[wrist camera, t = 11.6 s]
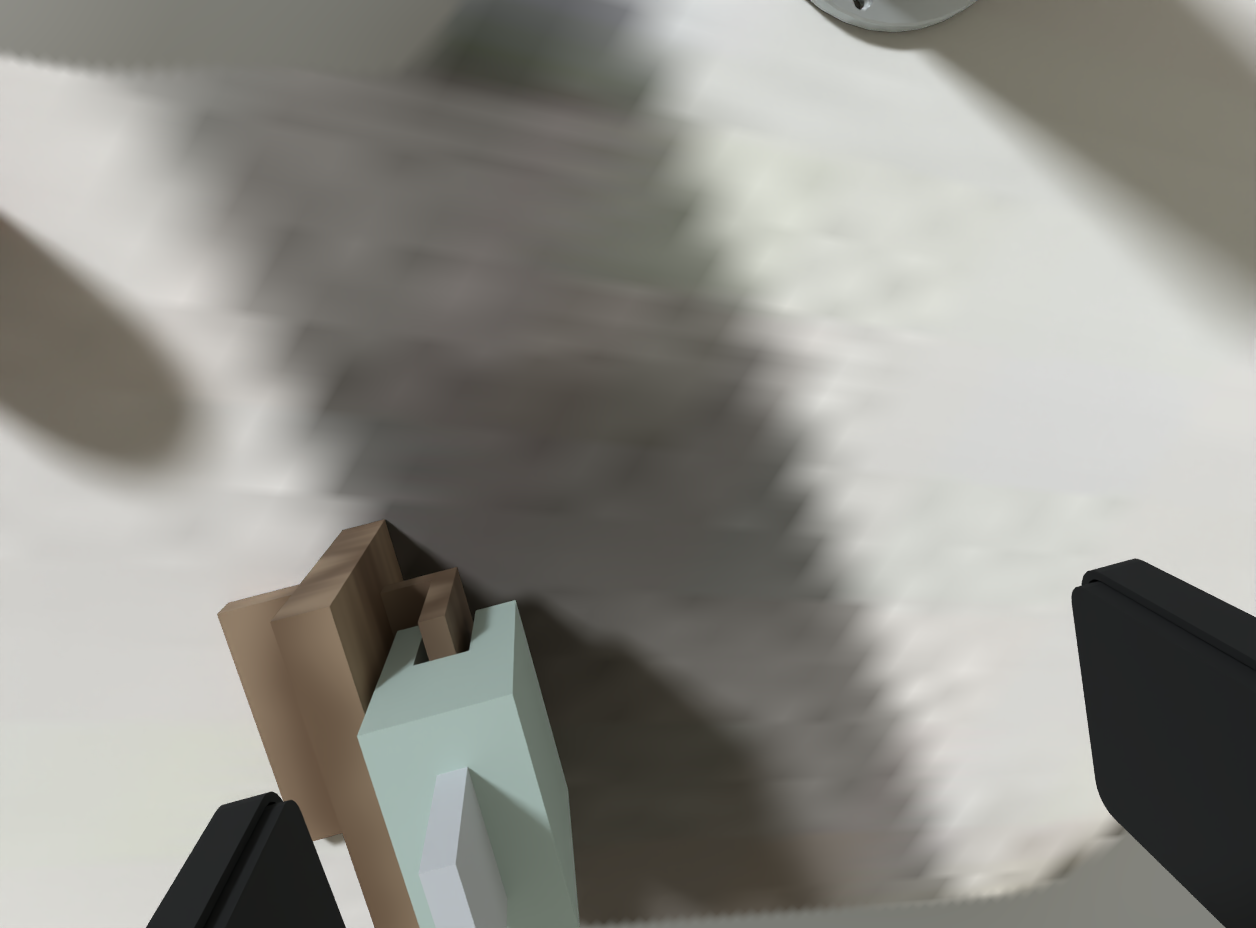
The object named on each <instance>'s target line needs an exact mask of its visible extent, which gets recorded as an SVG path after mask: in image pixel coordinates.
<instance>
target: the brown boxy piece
mask: <svg viewBox="0 0 1256 928" xmlns="http://www.w3.org/2000/svg"><path fill="white" fill-rule="evenodd" d="M217 615H218V618H219V621H220V624H221V627H222V629H223V632H224V635H225V638H226V641H227V643H228V646H229V649H230V652H231V655H232V658H233V660H234V663H235V666H236V669H237V672H238V674H239V677H240V680H241V683H242V686H243V689H244V691H245V694H246V697H247V700H248V703H249V705H250V708H251V711H252V714H253V717H254V720H255V722H256V725H257V728H258V731H259V734H260V736H261V739H262V742H263V745H264V748H265V751H266V753H267V756H268V759H269V762H270V765H271V767H272V770H273V773H274V776H275V779H276V782H277V784H278V787H279V790H280V793H281V796H282V798H283V801H288V800H293V801H295V802H296V803H297V805H298V806H299V808H300V810H301V812H302V815H303V817H304V820H305V823H306V825H307V828H308V831H309V833H310V836H311V838H312V841H316V840H319V839H323V838H326V837H330V836H333V835H337V834H341V833H342V834H343V837H344V840H345V842H346V845H347V848H348V851H349V854H350V857H351V860H352V863H353V866H354V869H355V872H356V875H357V878H358V880H359V883H360V886H361V889H362V892H363V895H364V898H365V901H366V904H367V907H368V910H369V913H370V916H371V918H372V921H373V924H374V927H375V928H420V927H419V924H418V921H417V918H416V915H415V912H414V909H413V906H412V903H411V900H410V897H409V894H408V891H407V888H406V884H405V881H404V878H403V875H402V872H401V869H400V866H399V863H398V860H397V857H396V854H395V851H394V848H393V845H392V842H391V839H390V836H389V833H388V829H387V826H386V823H385V820H384V817H383V814H382V811H381V808H380V805H379V802H378V799H377V796H376V793H375V790H374V787H373V784H372V781H371V778H370V774H369V771H368V768H367V765H366V762H365V759H364V756H363V753H362V750H361V747H360V744H359V741H358V738H357V735H358V732H359V730H360V727H361V724H362V722H363V719H364V717H365V714H366V711H367V709H368V706H369V704H370V701H371V698H372V696H373V693H374V691H375V688H376V685H377V683H378V680H379V678H380V675H381V672H382V670H383V667H384V665H385V662H386V659H387V657H388V654H389V652H390V649H391V646H392V644H393V641H394V639H395V636H396V633H397V631H400V630H404V629H407V628H411V627H415V626H419V629H420V632H421V635H422V639H423V642H424V645H425V648H426V652H427V655H428V658H429V661H432V660H436V659H440V658H444V657H447V656H451V655H455V654H459V653H462V652H466V651H469V649H470V643H471V637H472V630H473V624H474V623H473V620H472V616H471V613H470V609H469V606H468V603H467V599H466V596H465V592H464V589H463V585H462V582H461V579H460V575H459V572H458V568H457V567H455V568H451V569H447V570H443V571H439V572H436V573H432V574H428V575H424V576H420V577H417V578H413V579H409V580H405V581H404V580H403V577H402V574H401V570H400V567H399V564H398V561H397V557H396V554H395V551H394V548H393V544H392V541H391V538H390V534H389V531H388V528H387V525H386V521H385V519H384V520H380V521H377V522H373V523H369V524H365V525H361V526H357V527H353V528H349V529H345V530H342V532H341V533H340V534H339V535H338V537H337V538H336V539H335V540H334V542H333V543H332V544H331V546H330V547H329V548H328V549H327V551H326V552H325V553H324V554H323V556H322V557H321V558H320V559H319V561H318V562H317V563H316V565H315V566H314V567H313V568H312V570H311V571H310V572H309V573H308V575H307V576H306V577H305V578H304V580H303V581H302V582H301V584H300V585H296V586H292V587H288V588H284V589H280V590H276V591H273V592H269V593H265V594H261V595H257V596H253V597H249V598H246V599H242V600H238V601H234V602H230V603H228V604H227V605H226V606H225V607H224V608H223V609H222V610H221V611H220V612H219V613H218V614H217Z"/></svg>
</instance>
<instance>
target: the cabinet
mask: <svg viewBox="0 0 1256 928" xmlns="http://www.w3.org/2000/svg"><path fill="white" fill-rule="evenodd" d="M357 738H358V741H359V744H360V747H361V750H362V753H363V756H364V759H365V762H366V765H367V768H368V771H369V774H370V778H371V781H372V784H373V787H374V790H375V793H376V796H377V799H378V802H379V805H380V808H381V811H382V814H383V817H384V820H385V823H386V826H387V829H388V833H389V836H390V839H391V842H392V845H393V848H394V851H395V854H396V857H397V860H398V863H399V866H400V869H401V872H402V875H403V878H404V881H405V884H406V888H407V891H408V894H409V897H410V900H411V903H412V906H413V909H414V912H415V915H416V918H417V921H418V924H419V927H420V928H580V922H579V911H578V899H577V888H576V876H575V864H574V853H573V841H572V830H571V818H570V806H569V795H568V788H567V784H566V780H565V777H564V773H563V770H562V766H561V762H560V759H559V755H558V751H557V748H556V744H555V741H554V737H553V733H552V730H551V726H550V723H549V719H548V715H547V712H546V708H545V704H544V701H543V697H542V694H541V690H540V686H539V683H538V679H537V676H536V672H535V668H534V665H533V661H532V657H531V654H530V650H529V647H528V643H527V639H526V636H525V632H524V629H523V625H522V621H521V618H520V614H519V610H518V607H517V603H516V600H514V601H510V602H506V603H502V604H499V605H495V606H491V607H487V608H483V609H480V610H476V612H475V618H474V624H473V630H472V637H471V643H470V649H469V651H466V652H462V653H459V654H455V655H451V656H447V657H444V658H440V659H436V660H432V661H429V658H428V655H427V652H426V648H425V645H424V642H423V639H422V635H421V632H420V629H419V626H415V627H411V628H407V629H404V630H400V631H397V633H396V636H395V639H394V641H393V644H392V646H391V649H390V652H389V654H388V657H387V659H386V662H385V665H384V667H383V670H382V672H381V675H380V678H379V680H378V683H377V685H376V688H375V691H374V693H373V696H372V698H371V701H370V704H369V706H368V709H367V711H366V714H365V717H364V719H363V722H362V724H361V727H360V730H359V732H358V735H357Z"/></svg>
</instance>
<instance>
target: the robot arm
mask: <svg viewBox="0 0 1256 928" xmlns="http://www.w3.org/2000/svg"><path fill="white" fill-rule="evenodd" d="M810 1H812V2H813V3H814V4H815V5H816V6H817V7H819V8H820V9H821V10H823V11H825V12H827V13H828V14H830V15H832V16H834V17H836V18H837V19H839V20H841V21H843V22H845V23H848V24H851V25H855V26H858V27H861V28H864V29H867V30H876V31H886V32H900V31H909V30H917V29H922V28H925V27H928V26H931V25H934V24H936V23H939V22H942V21H945V20H947V19H948V18H950V17H952V16H954V15H955V14H957V13H959V12H961V11H962V10H964V9H966V8H967V7H969V6H970V5H971V4H973V3H974V2H975V1H977V0H857V1H858V2H859V3H860V5H861V8H860V10H859V9H858V8H856V7H855V5H854V2H853V0H810ZM1072 608H1073V616H1074V623H1075V631H1076V638H1077V646H1078V653H1079V661H1080V668H1081V676H1082V683H1083V691H1084V698H1085V705H1086V713H1087V720H1088V728H1089V735H1090V743H1091V750H1092V758H1093V765H1094V773H1095V780H1096V785H1097V789H1098V792H1099V795H1100V797H1101V799H1102V801H1103V803H1104V805H1105V807H1106V808H1107V810H1108V811H1109V813H1110V814H1111V815H1112V816H1113V818H1114V819H1115V820H1116V821H1117V822H1118V823H1119V824H1121V825H1122V826H1123V827H1124V828H1125V829H1126V830H1127V831H1128V832H1129V833H1130V834H1131V835H1132V836H1133V837H1134V838H1135V839H1136V840H1137V841H1138V842H1139V843H1140V844H1141V845H1142V846H1143V847H1144V848H1145V849H1146V850H1147V851H1148V852H1149V853H1150V854H1151V855H1152V856H1153V857H1154V858H1155V859H1156V860H1157V861H1158V862H1159V863H1160V864H1161V865H1162V866H1163V867H1164V868H1165V869H1167V871H1169V873H1171V875H1173V876H1174V877H1175V878H1176V879H1177V880H1178V881H1179V882H1180V883H1181V884H1182V885H1183V886H1184V887H1185V888H1186V889H1187V890H1188V891H1189V892H1190V893H1191V894H1192V895H1193V896H1194V897H1195V898H1196V899H1197V900H1198V901H1199V902H1200V903H1201V904H1202V905H1203V906H1204V907H1205V908H1206V909H1207V910H1208V911H1209V912H1210V913H1211V914H1212V915H1213V916H1214V917H1215V918H1216V919H1217V920H1218V921H1219V922H1220V923H1222V925H1224V926H1225V927H1226V928H1256V617H1254V616H1252V615H1250V614H1248V613H1246V612H1244V611H1242V610H1240V609H1238V608H1236V607H1234V606H1232V605H1230V604H1228V603H1226V602H1224V601H1222V600H1220V599H1218V598H1216V597H1214V596H1212V595H1210V594H1208V593H1206V592H1204V591H1202V590H1200V589H1198V588H1196V587H1194V586H1192V585H1190V584H1188V583H1186V582H1184V581H1182V580H1180V579H1178V578H1176V577H1174V576H1172V575H1170V574H1168V573H1166V572H1164V571H1162V570H1160V569H1158V568H1156V567H1154V566H1152V565H1150V564H1148V563H1146V562H1144V561H1142V560H1139V559H1132V560H1128V561H1124V562H1120V563H1117V564H1113V565H1109V566H1105V567H1102V568H1098V569H1094V570H1091V571H1087V572H1086V573H1085V575H1084V576H1083V580H1082V586H1079V587H1075V589H1074V590H1073V592H1072ZM146 928H346V927H345V924H344V922H343V919H342V917H341V914H340V911H339V909H338V906H337V904H336V901H335V898H334V896H333V893H332V891H331V888H330V885H329V883H328V880H327V877H326V875H325V872H324V870H323V867H322V864H321V862H320V859H319V857H318V854H317V851H316V849H315V846H314V844H313V841H312V838H311V836H310V833H309V831H308V828H307V825H306V823H305V820H304V817H303V815H302V812H301V810H300V808H299V806H298V805H297V803H296V802H295V801H293V800H288V801H284V802H283V801H282V799H281V798H280V797H279V796H278V794H276V793H274V792H268V793H265V794H261V795H257V796H254V797H250V798H246V799H243V800H239V801H235V802H231V803H228V804H224V805H221V806H220V807H219V808H218V809H217V811H216V812H215V814H214V815H213V817H212V819H211V820H210V822H209V824H208V825H207V827H206V829H205V830H204V832H203V834H202V835H201V837H200V839H199V840H198V842H197V844H196V845H195V847H194V849H193V850H192V852H191V854H190V855H189V857H188V859H187V860H186V862H185V864H184V865H183V867H182V869H181V870H180V872H179V874H178V875H177V877H176V879H175V880H174V882H173V884H172V885H171V887H170V889H169V890H168V892H167V894H166V895H165V897H164V898H163V900H162V902H161V903H160V905H159V907H158V908H157V910H156V912H155V913H154V915H153V917H152V918H151V920H150V922H149V923H148V925H147V927H146Z"/></svg>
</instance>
